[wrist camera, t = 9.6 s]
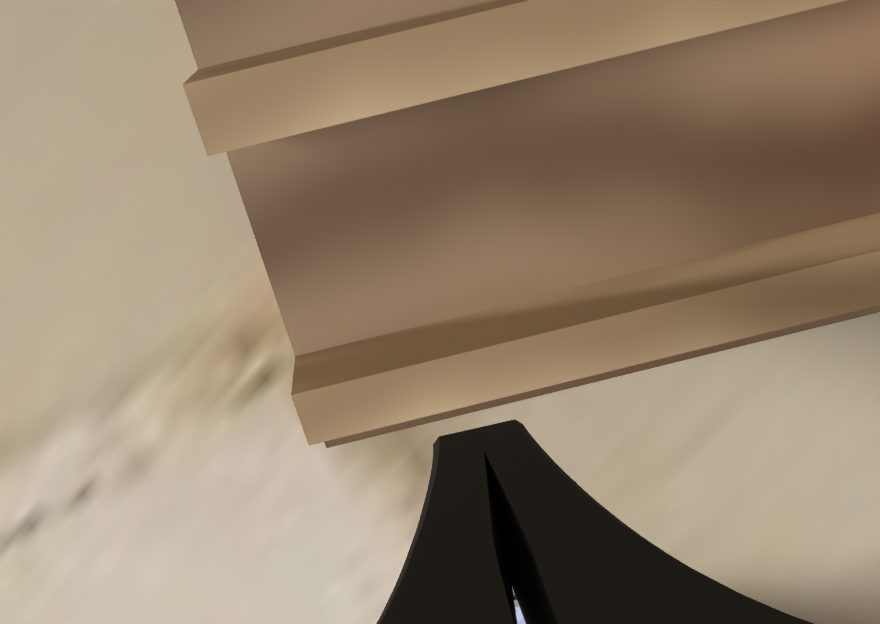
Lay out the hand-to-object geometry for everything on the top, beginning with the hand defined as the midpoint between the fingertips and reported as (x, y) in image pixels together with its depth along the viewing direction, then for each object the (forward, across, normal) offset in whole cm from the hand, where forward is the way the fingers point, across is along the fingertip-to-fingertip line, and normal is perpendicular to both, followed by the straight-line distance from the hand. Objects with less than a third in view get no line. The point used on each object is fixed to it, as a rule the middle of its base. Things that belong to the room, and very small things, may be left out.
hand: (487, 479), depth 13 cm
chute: (+10, -4, -2) cm, 11 cm away
